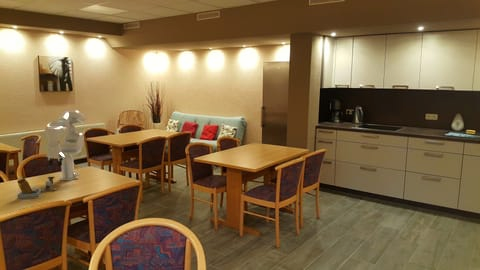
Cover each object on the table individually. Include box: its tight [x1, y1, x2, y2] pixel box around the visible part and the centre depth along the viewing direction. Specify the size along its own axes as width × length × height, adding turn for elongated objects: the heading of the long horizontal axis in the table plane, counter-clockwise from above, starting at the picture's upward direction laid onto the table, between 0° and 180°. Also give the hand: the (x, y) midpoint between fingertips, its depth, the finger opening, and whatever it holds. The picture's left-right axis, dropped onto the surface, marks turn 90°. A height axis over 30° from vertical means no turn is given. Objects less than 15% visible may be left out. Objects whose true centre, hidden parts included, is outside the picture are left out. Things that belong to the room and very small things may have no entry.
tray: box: [17, 188, 43, 200], centre depth 257 cm, size 13×12×3 cm
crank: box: [45, 176, 56, 188], centre depth 274 cm, size 13×5×6 cm, turn 16°
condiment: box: [17, 177, 37, 194], centre depth 255 cm, size 7×8×12 cm
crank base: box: [39, 186, 59, 193], centre depth 268 cm, size 20×6×3 cm, turn 106°
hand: (55, 165), depth 274 cm, fingers open, 7 cm apart
